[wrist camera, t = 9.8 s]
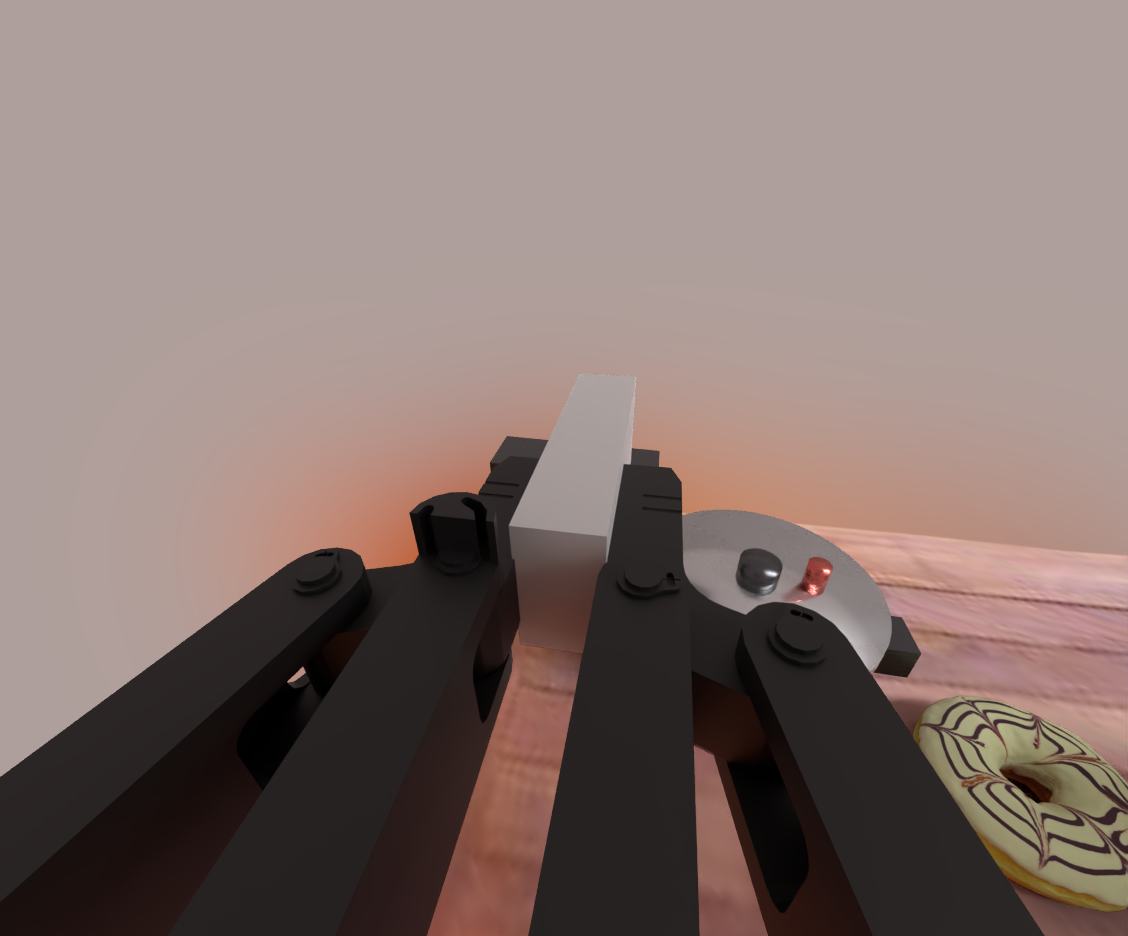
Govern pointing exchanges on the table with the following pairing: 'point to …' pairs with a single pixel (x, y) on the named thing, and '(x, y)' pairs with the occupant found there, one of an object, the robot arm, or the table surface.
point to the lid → (767, 565)
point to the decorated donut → (1014, 821)
